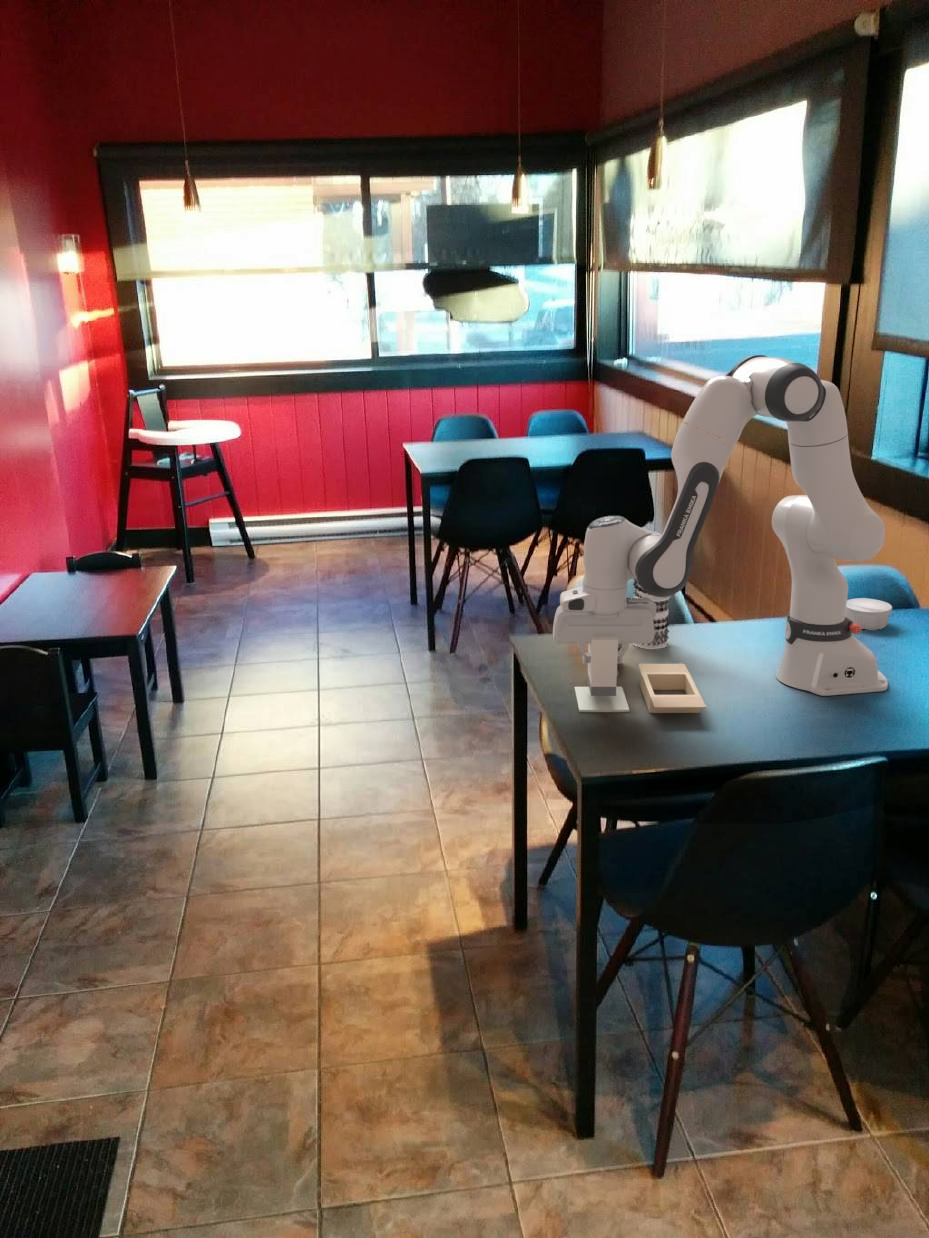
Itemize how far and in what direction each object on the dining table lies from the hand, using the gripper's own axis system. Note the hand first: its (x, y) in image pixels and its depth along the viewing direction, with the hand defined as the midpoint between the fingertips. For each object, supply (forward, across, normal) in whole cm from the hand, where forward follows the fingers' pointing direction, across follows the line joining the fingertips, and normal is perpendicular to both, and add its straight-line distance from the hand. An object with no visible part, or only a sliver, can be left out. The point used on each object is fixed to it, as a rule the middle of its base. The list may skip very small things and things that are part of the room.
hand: (602, 662), depth 203 cm
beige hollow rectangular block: (+8, -14, 0) cm, 16 cm away
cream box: (+6, 0, 0) cm, 6 cm away
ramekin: (+8, -70, -47) cm, 85 cm away
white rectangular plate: (+8, 0, 0) cm, 8 cm away
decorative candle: (+8, -15, -34) cm, 38 cm away
